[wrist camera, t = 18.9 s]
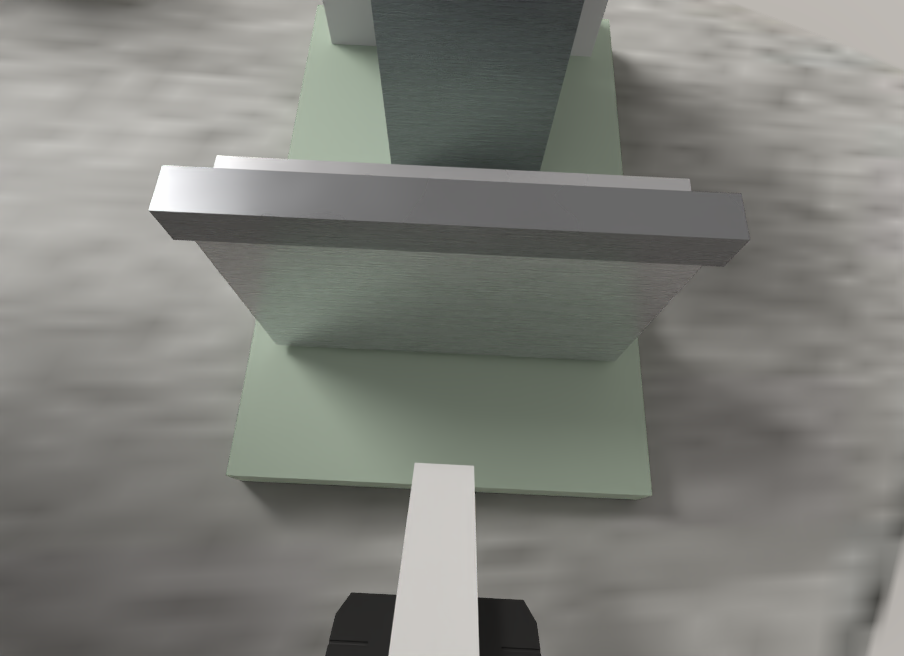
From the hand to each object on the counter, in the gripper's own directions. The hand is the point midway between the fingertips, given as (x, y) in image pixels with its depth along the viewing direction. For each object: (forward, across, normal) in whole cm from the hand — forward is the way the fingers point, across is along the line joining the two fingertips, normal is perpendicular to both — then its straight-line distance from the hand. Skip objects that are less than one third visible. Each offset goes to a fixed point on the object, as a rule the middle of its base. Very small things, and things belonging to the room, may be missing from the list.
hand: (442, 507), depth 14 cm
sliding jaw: (+7, 0, +2) cm, 8 cm away
